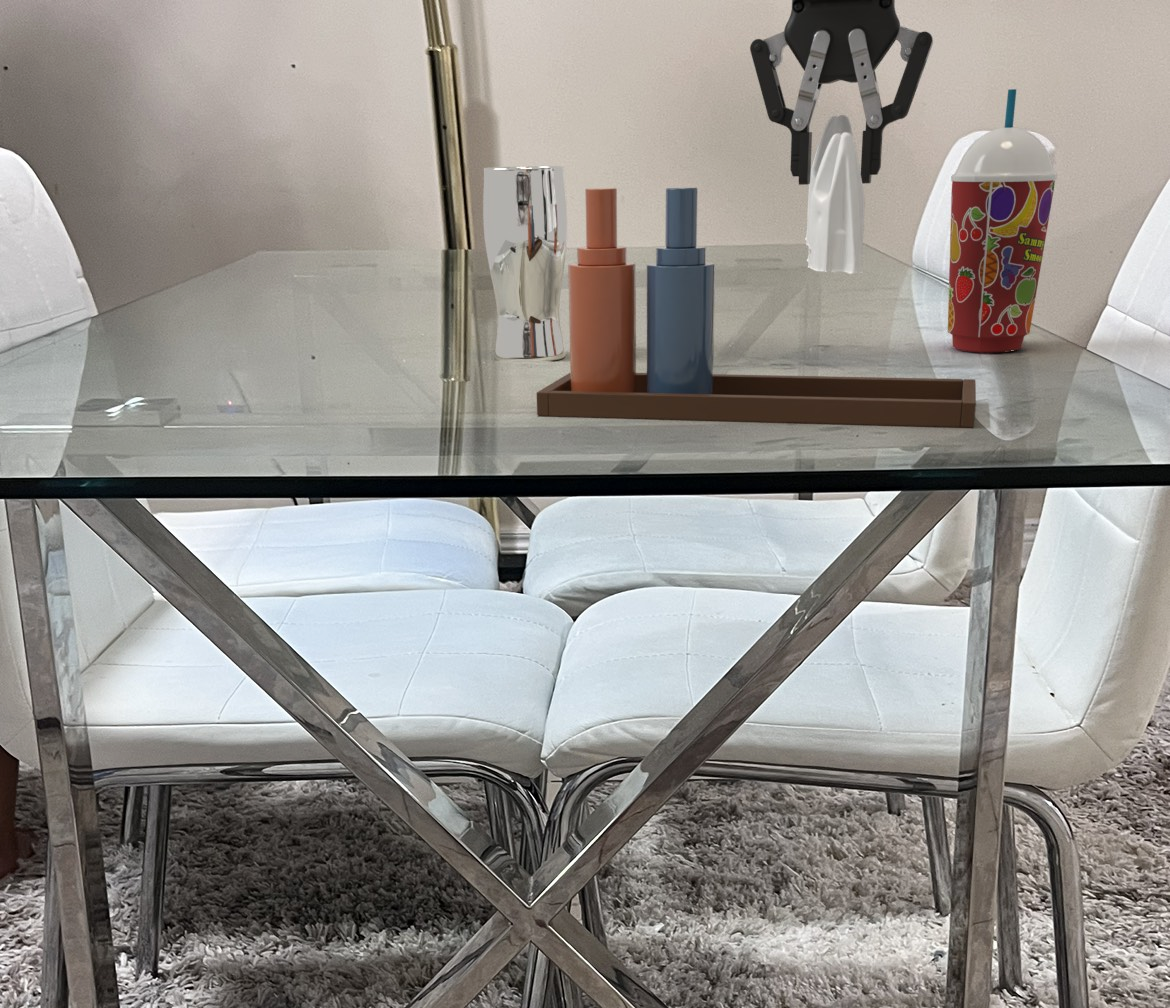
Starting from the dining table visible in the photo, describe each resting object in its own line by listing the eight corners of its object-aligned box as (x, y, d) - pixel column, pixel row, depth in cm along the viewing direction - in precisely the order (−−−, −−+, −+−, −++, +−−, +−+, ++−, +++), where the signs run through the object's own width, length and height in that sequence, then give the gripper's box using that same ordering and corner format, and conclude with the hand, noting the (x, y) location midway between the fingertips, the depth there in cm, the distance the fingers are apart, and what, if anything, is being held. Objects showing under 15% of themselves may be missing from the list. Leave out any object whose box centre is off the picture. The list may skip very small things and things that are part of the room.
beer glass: (552, 364, 116) (547, 167, 110) (476, 362, 118) (466, 168, 112) (582, 353, 122) (578, 165, 116) (508, 350, 124) (501, 166, 118)
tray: (972, 411, 93) (975, 379, 92) (972, 437, 85) (975, 402, 84) (572, 401, 100) (571, 371, 99) (537, 425, 92) (536, 392, 91)
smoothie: (1035, 356, 115) (1065, 86, 107) (932, 354, 118) (953, 89, 110) (1039, 343, 123) (1068, 89, 114) (942, 341, 125) (963, 92, 117)
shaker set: (803, 263, 117) (809, 116, 112) (854, 262, 117) (862, 115, 112) (808, 275, 106) (814, 113, 102) (864, 274, 106) (872, 112, 101)
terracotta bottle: (642, 400, 96) (642, 186, 90) (628, 411, 92) (627, 189, 87) (580, 398, 97) (576, 187, 91) (563, 410, 93) (558, 190, 88)
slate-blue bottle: (717, 402, 95) (722, 186, 89) (706, 413, 91) (710, 188, 85) (653, 400, 96) (654, 186, 90) (640, 412, 92) (640, 189, 86)
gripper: (741, -73, 100) (736, 187, 107) (945, -87, 97) (927, 183, 104) (755, -60, 107) (750, 184, 114) (947, -72, 103) (930, 180, 110)
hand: (835, 182), depth 109 cm, fingers closed on shaker set, 4 cm apart
